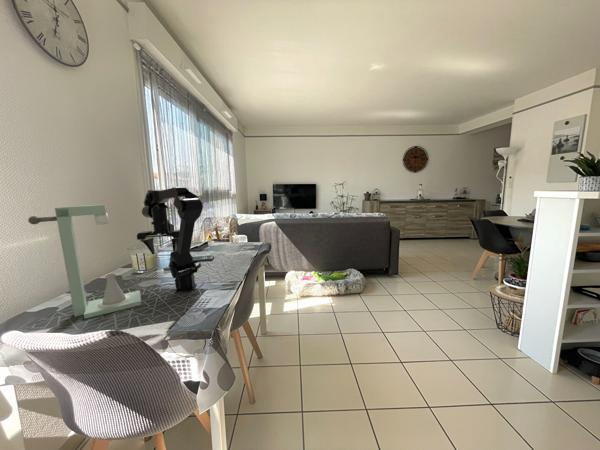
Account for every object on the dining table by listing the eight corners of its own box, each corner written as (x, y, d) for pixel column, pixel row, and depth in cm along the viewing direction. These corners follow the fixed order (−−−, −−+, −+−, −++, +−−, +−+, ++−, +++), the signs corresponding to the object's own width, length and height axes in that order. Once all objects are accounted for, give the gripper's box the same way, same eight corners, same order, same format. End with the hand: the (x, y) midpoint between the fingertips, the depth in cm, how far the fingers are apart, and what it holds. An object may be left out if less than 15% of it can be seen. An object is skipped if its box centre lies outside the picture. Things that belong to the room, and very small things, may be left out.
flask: (123, 303, 90) (118, 276, 89) (98, 307, 88) (93, 279, 86) (128, 295, 97) (125, 270, 96) (106, 298, 95) (102, 272, 93)
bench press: (140, 294, 102) (127, 202, 97) (141, 304, 92) (127, 204, 87) (53, 313, 88) (32, 208, 83) (43, 328, 78) (19, 210, 73)
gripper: (188, 215, 119) (192, 248, 122) (147, 217, 118) (151, 250, 121) (179, 218, 108) (183, 254, 111) (133, 220, 107) (138, 256, 110)
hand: (164, 253), depth 113 cm, fingers open, 9 cm apart
